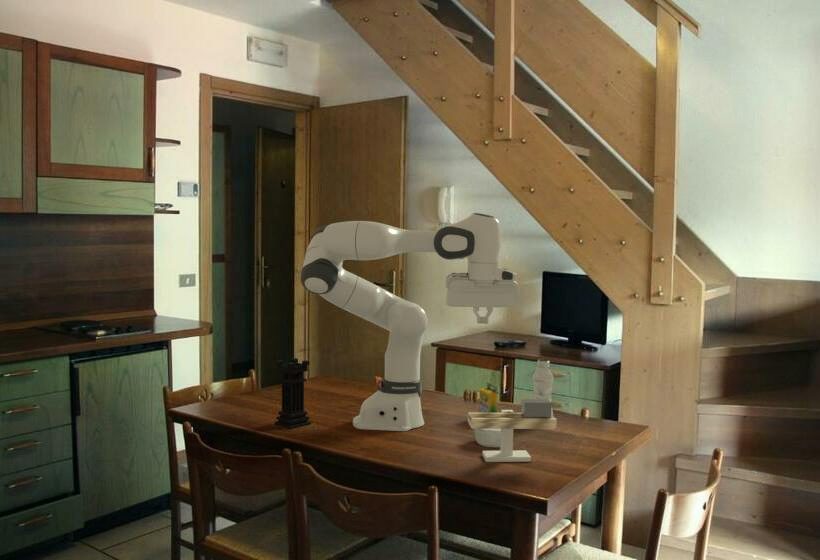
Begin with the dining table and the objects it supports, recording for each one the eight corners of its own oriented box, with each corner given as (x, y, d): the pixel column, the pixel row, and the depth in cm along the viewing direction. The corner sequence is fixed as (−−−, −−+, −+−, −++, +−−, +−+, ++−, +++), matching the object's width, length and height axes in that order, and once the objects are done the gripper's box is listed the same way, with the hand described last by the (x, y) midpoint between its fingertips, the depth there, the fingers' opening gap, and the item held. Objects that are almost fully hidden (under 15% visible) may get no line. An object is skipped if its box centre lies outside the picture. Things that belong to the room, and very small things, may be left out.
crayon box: (478, 418, 244) (479, 383, 244) (487, 417, 245) (487, 382, 245) (488, 423, 238) (489, 387, 237) (497, 423, 239) (497, 387, 238)
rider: (524, 421, 194) (524, 402, 194) (520, 417, 198) (521, 399, 198) (550, 421, 194) (551, 402, 194) (547, 417, 198) (547, 399, 198)
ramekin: (520, 445, 215) (520, 427, 214) (489, 451, 209) (490, 432, 208) (495, 436, 224) (495, 418, 224) (465, 441, 218) (466, 423, 218)
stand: (486, 461, 199) (487, 413, 198) (482, 455, 205) (483, 408, 204) (530, 461, 200) (532, 413, 199) (525, 454, 206) (526, 407, 205)
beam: (471, 428, 192) (472, 418, 191) (467, 421, 199) (467, 411, 199) (556, 428, 193) (556, 418, 193) (548, 421, 201) (549, 411, 200)
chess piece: (274, 424, 234) (274, 360, 232) (294, 419, 240) (295, 357, 238) (290, 429, 228) (290, 364, 227) (311, 424, 234) (311, 361, 233)
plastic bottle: (552, 425, 236) (554, 362, 235) (531, 424, 237) (532, 361, 236) (553, 420, 242) (554, 359, 241) (531, 419, 244) (533, 358, 242)
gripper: (447, 273, 201) (446, 324, 202) (522, 274, 202) (521, 325, 203) (444, 271, 207) (443, 321, 208) (517, 272, 208) (516, 322, 209)
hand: (482, 323), depth 206 cm, fingers closed
